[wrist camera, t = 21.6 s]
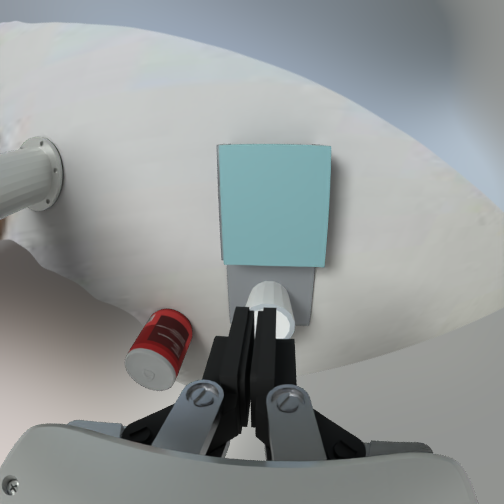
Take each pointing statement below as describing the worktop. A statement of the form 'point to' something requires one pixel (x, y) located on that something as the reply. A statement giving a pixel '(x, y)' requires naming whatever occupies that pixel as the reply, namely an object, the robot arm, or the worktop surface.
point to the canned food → (159, 350)
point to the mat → (289, 277)
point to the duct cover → (274, 204)
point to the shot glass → (273, 306)
